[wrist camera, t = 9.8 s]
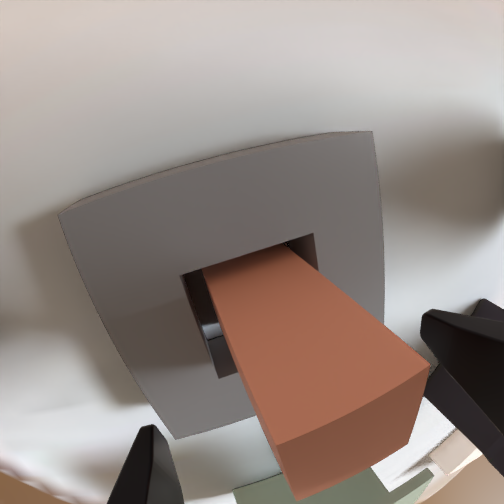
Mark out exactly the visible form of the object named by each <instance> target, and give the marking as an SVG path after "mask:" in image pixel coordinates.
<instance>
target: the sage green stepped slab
mask: <svg viewBox="0 0 504 504" xmlns="http://www.w3.org/2000/svg"><path fill="white" fill-rule="evenodd" d="M433 477H434V475H433V474H432V472H431V471H430V470H429V469H428V468H426V469H424V470H423V471H422V472H420V473H419V474H417V475H416V476H414V477H413V478H411V479H410V480H409V481H407V482H405V483H404V484H402V485H401V486H399V487H398V488H396V489H394V490H393V491H391V492H390V493H389V492H388V490H387V489H386V488H385V486H384V485H383V483H382V482H381V481H380V479H379V478H378V477H377V475H376V474H375V472H374V471H373V470H372V468H371V467H369V468H367V469H365V470H364V471H362V472H360V473H358V474H356V475H354V476H352V477H350V478H348V479H346V480H344V481H342V482H340V483H338V484H336V485H334V486H332V487H330V488H328V489H325V490H323V491H321V492H319V493H316V494H314V495H312V496H309V497H307V498H304V499H302V500H299V501H296V499H295V497H294V495H293V493H292V491H291V489H290V487H289V485H288V483H287V481H286V479H285V477H284V475H283V473H282V474H279V475H276V476H274V477H271V478H268V479H265V480H262V481H259V482H256V483H253V484H250V485H247V486H243V487H240V488H237V489H233V493H234V496H235V499H236V502H237V504H414V503H415V502H416V501H417V499H418V498H419V497H420V495H421V494H422V493H423V491H424V490H425V488H426V487H427V486H428V484H429V483H430V481H431V480H432V478H433Z"/></svg>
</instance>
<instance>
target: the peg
mask: <svg viewBox="0 0 504 504" xmlns="http://www.w3.org/2000/svg"><path fill="white" fill-rule="evenodd" d="M201 270H202V273H203V276H204V279H205V282H206V285H207V288H208V291H209V295H210V298H211V301H212V304H213V307H214V310H215V313H216V316H217V319H218V321H219V324H220V327H221V329H222V332H223V335H224V337H225V340H226V342H227V345H228V348H229V350H230V353H231V355H232V358H233V360H234V363H235V365H236V368H237V370H238V373H239V375H240V377H241V380H242V382H243V385H244V387H245V390H246V392H247V394H248V397H249V399H250V401H251V404H252V406H253V408H254V411H255V413H256V415H257V418H258V420H259V422H260V425H261V427H262V429H263V431H264V434H265V436H266V438H267V440H268V442H269V445H270V447H271V449H272V451H273V453H274V456H275V458H276V460H277V462H278V464H279V466H280V468H281V471H282V473H283V475H284V477H285V479H286V481H287V483H288V485H289V487H290V489H291V491H292V493H293V495H294V497H295V499H296V501H299V500H302V499H304V498H307V497H309V496H312V495H314V494H316V493H319V492H321V491H323V490H325V489H328V488H330V487H332V486H334V485H336V484H338V483H340V482H342V481H344V480H346V479H348V478H350V477H352V476H354V475H356V474H358V473H360V472H362V471H364V470H365V469H367V468H369V467H371V466H373V465H374V464H376V463H378V462H379V461H381V460H383V459H385V458H386V457H388V456H389V455H391V454H393V453H394V452H396V451H397V450H399V449H401V448H402V447H404V446H405V445H407V444H408V442H409V439H410V436H411V433H412V430H413V427H414V424H415V421H416V418H417V414H418V411H419V408H420V404H421V401H422V397H423V393H424V390H425V386H426V382H427V378H428V374H429V369H430V365H431V364H430V363H429V362H427V361H426V360H425V359H424V358H423V357H422V356H420V355H419V354H418V353H417V352H416V351H414V350H413V349H412V348H411V347H410V346H408V345H407V344H406V343H405V342H404V341H403V340H401V339H400V338H399V337H398V336H397V335H395V334H394V333H393V332H392V331H391V330H389V329H388V328H387V327H386V326H385V325H383V324H382V323H381V322H380V321H378V320H377V319H376V318H375V317H374V316H372V315H371V314H370V313H369V312H368V311H366V310H365V309H364V308H363V307H361V306H360V305H359V304H358V303H357V302H355V301H354V300H353V299H352V298H350V297H349V296H348V295H347V294H345V293H344V292H343V291H342V290H340V289H339V288H338V287H337V286H336V285H334V284H333V283H332V282H331V281H329V280H328V279H327V278H326V277H324V276H323V275H322V274H321V273H319V272H318V271H317V270H316V269H314V268H313V267H312V266H311V265H309V264H308V263H307V262H305V261H304V260H303V259H302V258H300V257H299V256H298V255H297V254H295V253H294V252H293V251H292V250H290V249H289V248H288V247H286V246H285V245H284V244H283V243H280V244H277V245H273V246H270V247H267V248H264V249H261V250H258V251H255V252H251V253H248V254H245V255H242V256H239V257H236V258H233V259H230V260H226V261H223V262H220V263H217V264H214V265H211V266H208V267H204V268H201Z"/></svg>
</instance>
